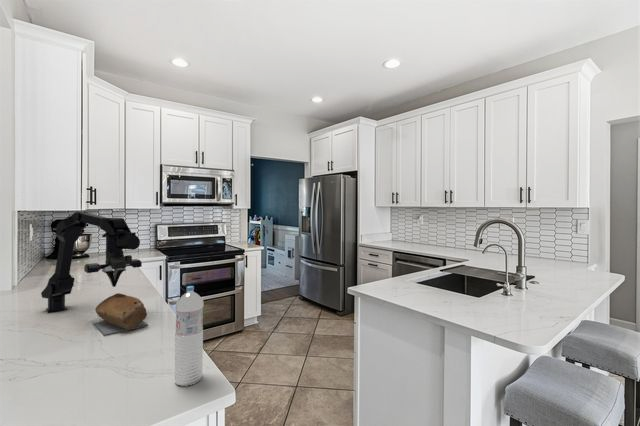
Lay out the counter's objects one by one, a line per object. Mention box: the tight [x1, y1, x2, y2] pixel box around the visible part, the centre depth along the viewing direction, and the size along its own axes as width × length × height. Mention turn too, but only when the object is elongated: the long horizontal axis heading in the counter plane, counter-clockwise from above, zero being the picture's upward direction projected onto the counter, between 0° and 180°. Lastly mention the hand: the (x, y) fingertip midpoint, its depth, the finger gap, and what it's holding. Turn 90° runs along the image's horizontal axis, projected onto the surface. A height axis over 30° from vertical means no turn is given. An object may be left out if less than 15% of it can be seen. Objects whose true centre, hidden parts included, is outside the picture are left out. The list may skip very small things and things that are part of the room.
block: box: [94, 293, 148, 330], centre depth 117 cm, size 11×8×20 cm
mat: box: [92, 320, 148, 337], centre depth 117 cm, size 16×14×1 cm
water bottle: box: [174, 285, 205, 387], centre depth 81 cm, size 7×7×25 cm
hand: (114, 286), depth 124 cm, fingers closed
